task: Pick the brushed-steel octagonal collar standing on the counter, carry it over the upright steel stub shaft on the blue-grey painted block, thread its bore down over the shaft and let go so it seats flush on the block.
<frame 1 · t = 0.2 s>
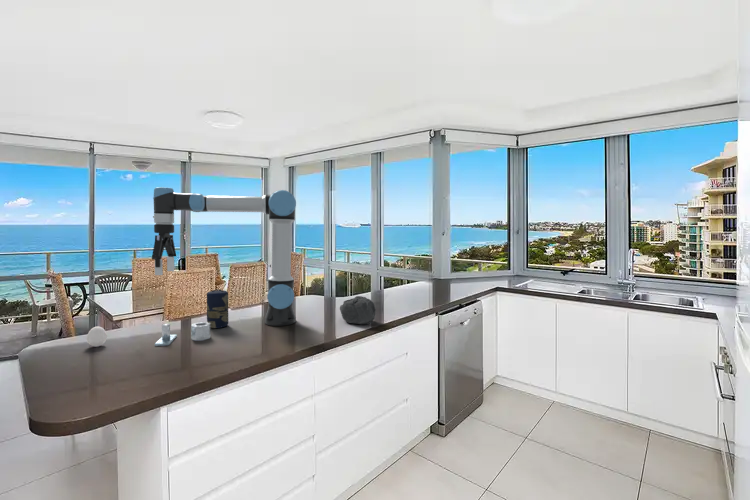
hand: (165, 273, 162), 27 cm above the counter, fingers open, 13 cm apart
shaft stand: (166, 341, 155), on the counter
egg: (97, 346, 148), on the counter
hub: (201, 338, 161), on the counter
canister: (217, 327, 179), on the counter
rock: (359, 322, 192), on the counter
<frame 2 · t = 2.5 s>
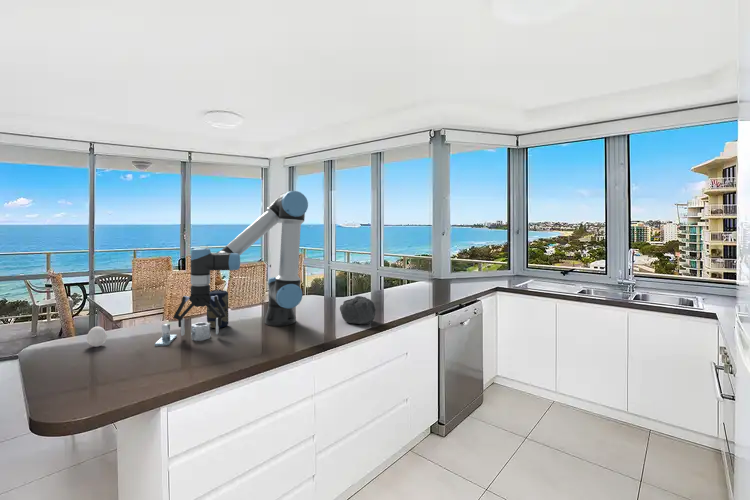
hand: (200, 334, 160), 2 cm above the counter, fingers open, 13 cm apart
nothing on the counter moved.
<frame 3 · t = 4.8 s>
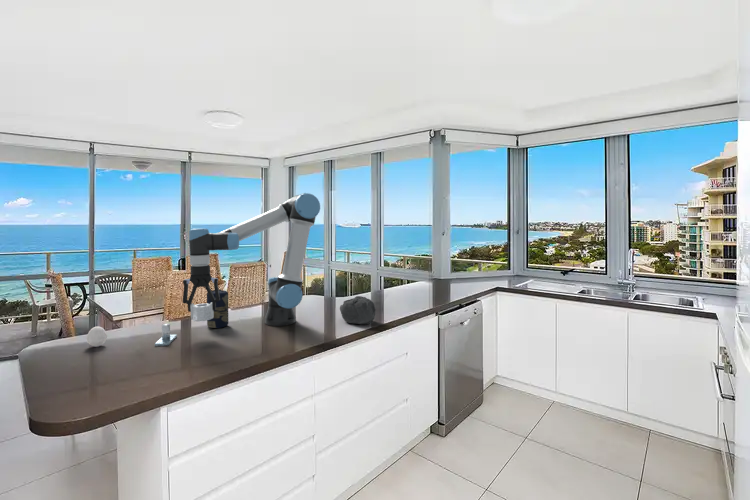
hand: (202, 318, 160), 9 cm above the counter, fingers closed on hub, 7 cm apart
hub: (202, 319, 160), point 8 cm above the counter, touching gripper
everything else where it was.
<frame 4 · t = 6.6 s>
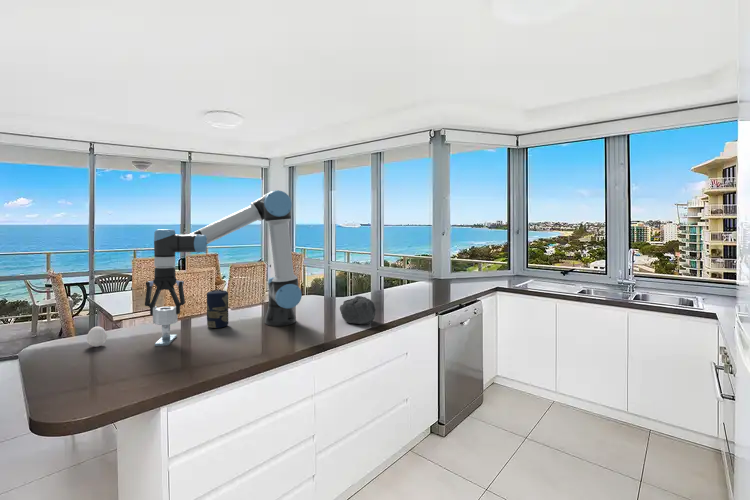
hand: (165, 322, 155), 8 cm above the counter, fingers closed on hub, 7 cm apart
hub: (165, 322, 155), point 8 cm above the counter, touching gripper
everything else where it was.
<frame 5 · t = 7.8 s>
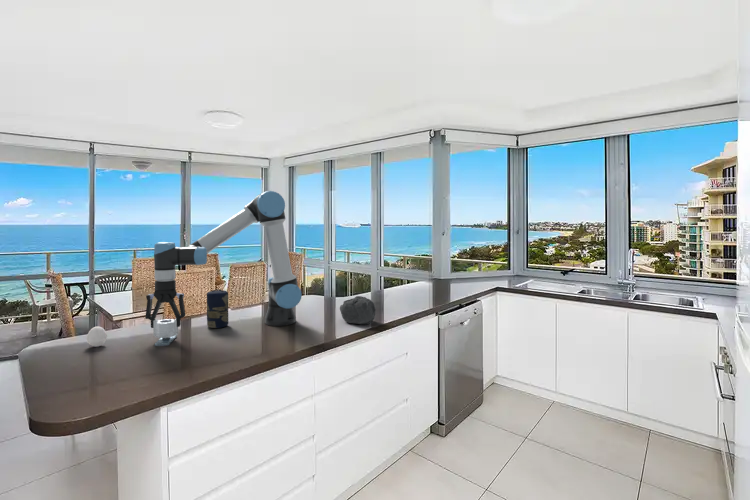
hand: (166, 334, 155), 3 cm above the counter, fingers closed on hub, 7 cm apart
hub: (166, 335, 155), point 2 cm above the counter, touching gripper
everything else where it was.
when the fingers open (2 cm above the counter, at t = 8.5 s): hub drops 1 cm, resting on shaft stand.
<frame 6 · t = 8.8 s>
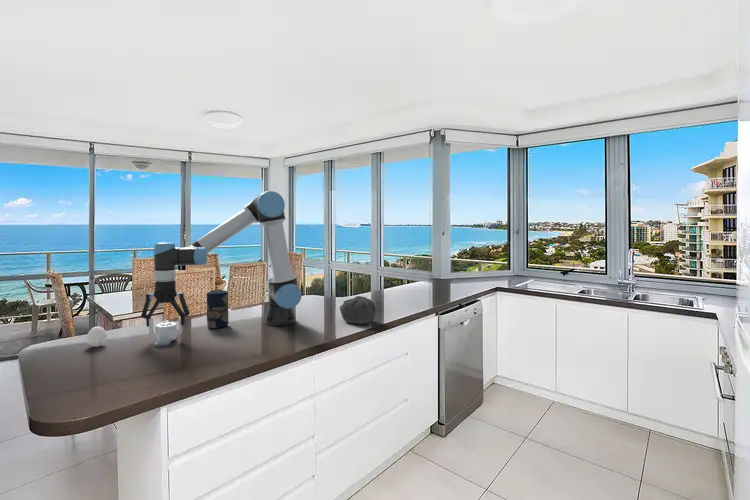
hand: (166, 333, 155), 3 cm above the counter, fingers open, 10 cm apart
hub: (166, 338, 155), point 1 cm above the counter, touching shaft stand
everything else where it was.
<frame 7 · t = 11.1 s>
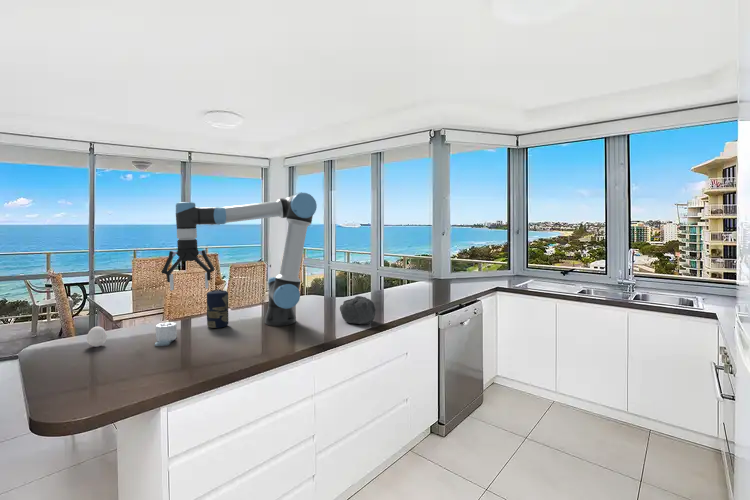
hand: (189, 289, 160), 21 cm above the counter, fingers open, 13 cm apart
nothing on the counter moved.
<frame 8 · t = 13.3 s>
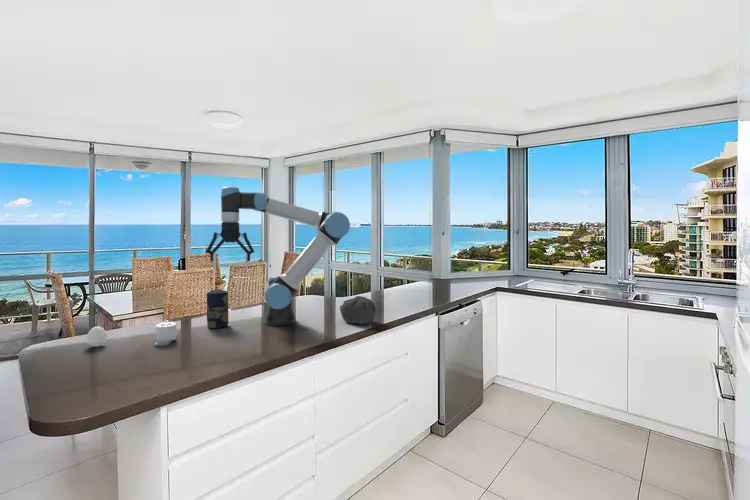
hand: (230, 268, 170), 29 cm above the counter, fingers open, 13 cm apart
nothing on the counter moved.
at the end: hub 0.1 cm from the shaft stand (horizontally); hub point 1.0 cm above the counter; the gripper is holding nothing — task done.
